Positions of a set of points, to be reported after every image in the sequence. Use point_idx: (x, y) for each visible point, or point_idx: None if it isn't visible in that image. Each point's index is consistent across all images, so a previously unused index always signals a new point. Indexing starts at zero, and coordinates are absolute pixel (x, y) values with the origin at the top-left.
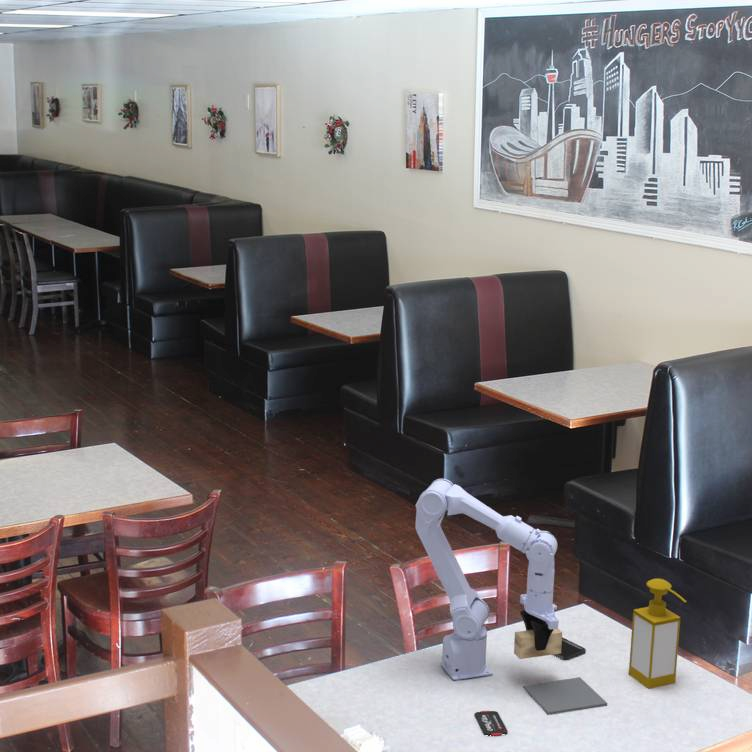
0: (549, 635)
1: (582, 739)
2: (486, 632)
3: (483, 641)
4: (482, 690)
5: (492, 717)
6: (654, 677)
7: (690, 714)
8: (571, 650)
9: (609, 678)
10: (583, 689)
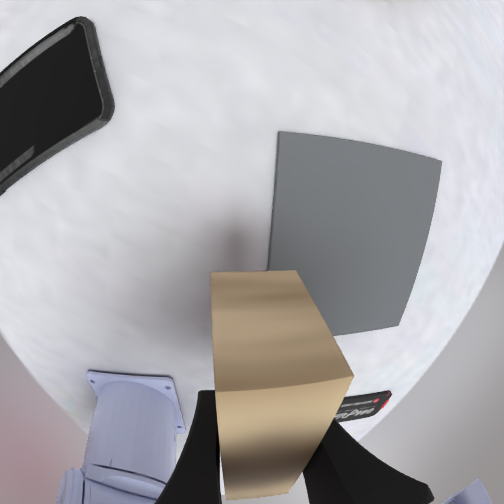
0: (357, 447)
1: (471, 289)
2: (134, 479)
3: (161, 472)
4: None
5: (345, 407)
6: None
7: (490, 34)
8: (65, 68)
9: (308, 29)
10: (362, 175)
